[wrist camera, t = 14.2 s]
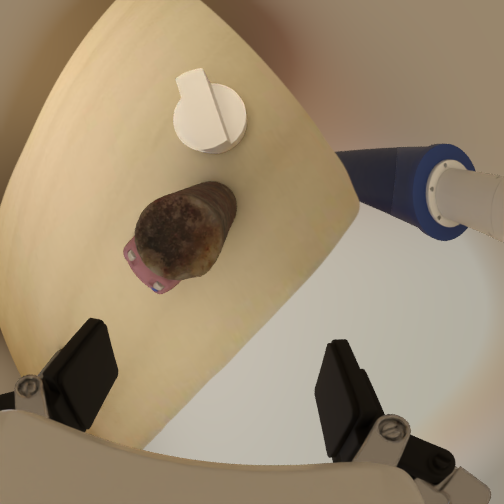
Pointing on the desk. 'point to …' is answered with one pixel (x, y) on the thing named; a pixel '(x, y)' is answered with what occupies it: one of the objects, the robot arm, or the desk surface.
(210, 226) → the rusty brown cylinder
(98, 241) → the desk surface
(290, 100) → the desk surface
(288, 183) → the desk surface
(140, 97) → the desk surface
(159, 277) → the video game controller
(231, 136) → the base with upright slab
